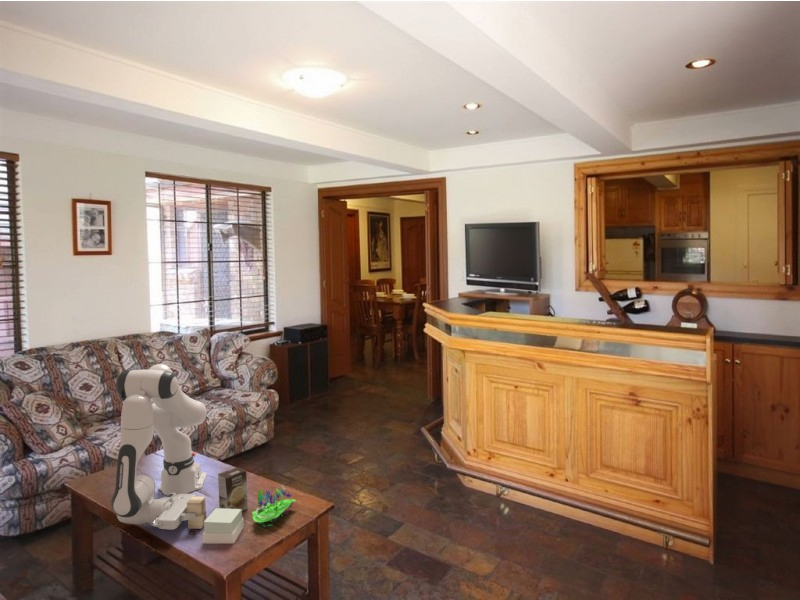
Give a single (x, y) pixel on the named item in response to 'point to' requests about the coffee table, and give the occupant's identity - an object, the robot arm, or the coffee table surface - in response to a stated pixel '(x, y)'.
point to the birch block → (200, 508)
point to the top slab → (223, 520)
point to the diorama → (271, 506)
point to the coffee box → (233, 489)
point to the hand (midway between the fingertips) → (199, 510)
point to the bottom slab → (223, 535)
